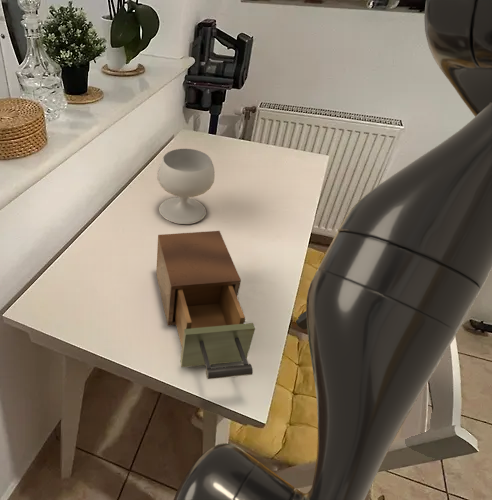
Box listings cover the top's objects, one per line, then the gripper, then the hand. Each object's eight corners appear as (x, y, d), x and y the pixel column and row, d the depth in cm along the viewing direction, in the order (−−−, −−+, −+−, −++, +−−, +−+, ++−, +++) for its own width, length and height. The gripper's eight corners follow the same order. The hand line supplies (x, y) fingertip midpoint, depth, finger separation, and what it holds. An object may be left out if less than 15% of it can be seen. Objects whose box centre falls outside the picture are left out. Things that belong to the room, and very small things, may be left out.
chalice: (147, 201, 115) (149, 150, 105) (195, 192, 119) (200, 142, 109) (168, 232, 105) (171, 178, 95) (218, 221, 109) (227, 169, 99)
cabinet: (232, 320, 84) (241, 280, 77) (167, 325, 83) (171, 286, 76) (213, 269, 95) (219, 230, 88) (156, 273, 94) (158, 234, 87)
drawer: (258, 395, 71) (270, 363, 65) (189, 403, 69) (194, 371, 64) (224, 304, 86) (231, 271, 80) (168, 308, 85) (170, 276, 79)
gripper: (372, 235, 60) (278, 302, 66) (441, 309, 48) (320, 382, 55) (395, 260, 63) (304, 321, 69) (463, 335, 52) (348, 399, 58)
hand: (311, 348), depth 62 cm, fingers open, 8 cm apart
